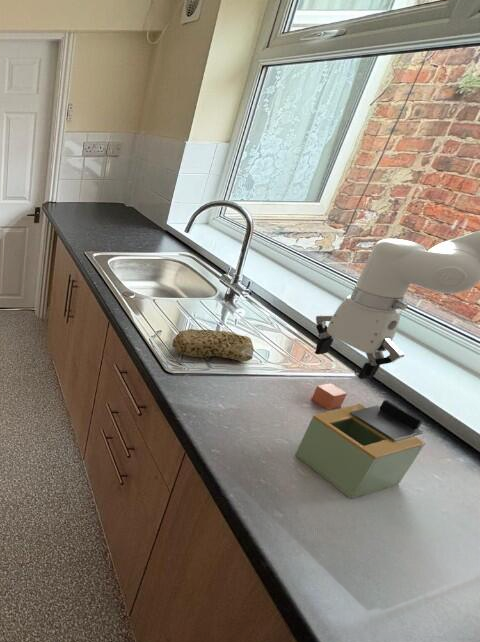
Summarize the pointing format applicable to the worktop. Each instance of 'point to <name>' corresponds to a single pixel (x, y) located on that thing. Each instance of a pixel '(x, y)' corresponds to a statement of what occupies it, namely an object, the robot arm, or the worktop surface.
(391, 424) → the slider
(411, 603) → the worktop surface
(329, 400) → the block
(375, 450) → the green open box
